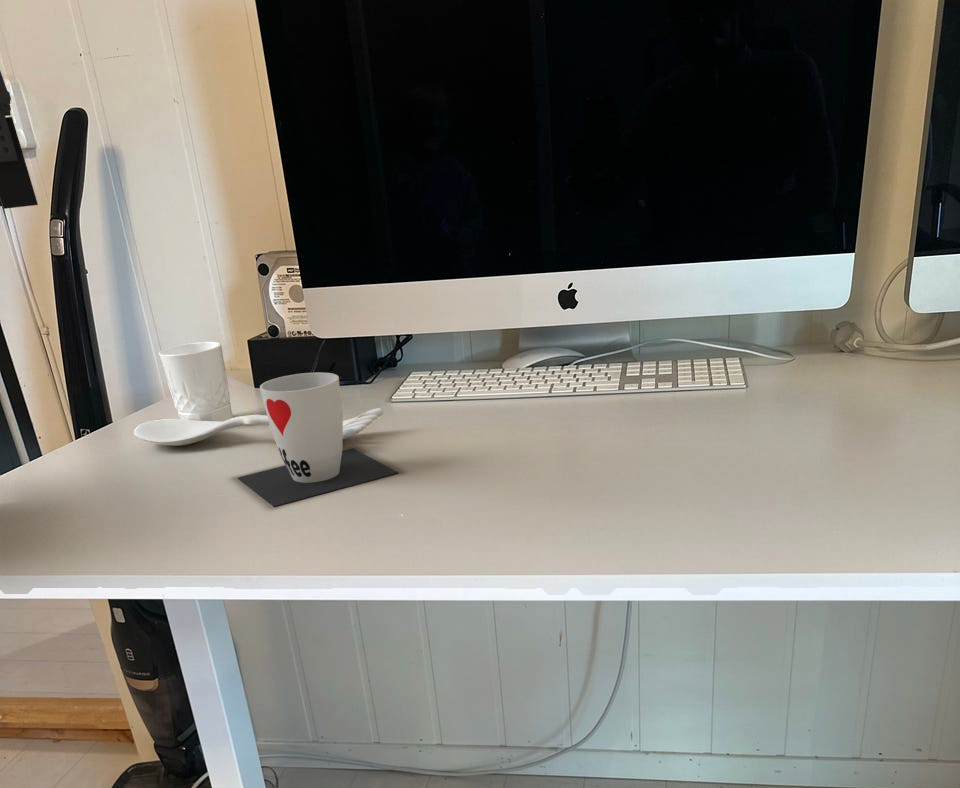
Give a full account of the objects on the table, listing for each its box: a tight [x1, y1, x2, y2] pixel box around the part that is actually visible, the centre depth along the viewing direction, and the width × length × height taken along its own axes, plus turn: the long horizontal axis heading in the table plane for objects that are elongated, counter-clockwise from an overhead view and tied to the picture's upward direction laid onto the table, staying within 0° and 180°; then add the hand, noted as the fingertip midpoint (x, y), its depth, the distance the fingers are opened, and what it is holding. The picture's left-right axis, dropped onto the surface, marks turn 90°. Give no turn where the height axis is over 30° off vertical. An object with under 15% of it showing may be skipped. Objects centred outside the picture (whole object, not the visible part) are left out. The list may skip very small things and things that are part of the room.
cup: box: [259, 372, 344, 483], centre depth 96 cm, size 8×8×10 cm
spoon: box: [133, 407, 384, 447], centre depth 111 cm, size 9×32×4 cm, turn 72°
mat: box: [237, 448, 399, 508], centre depth 98 cm, size 14×12×1 cm
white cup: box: [158, 341, 234, 422], centre depth 119 cm, size 8×8×10 cm
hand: (11, 207), depth 82 cm, fingers open, 13 cm apart
